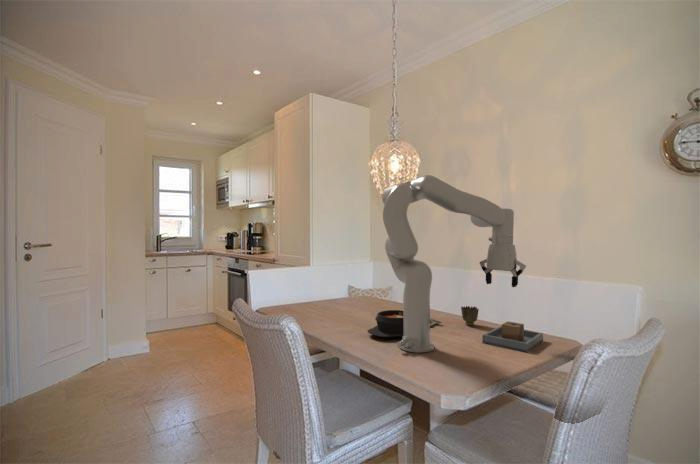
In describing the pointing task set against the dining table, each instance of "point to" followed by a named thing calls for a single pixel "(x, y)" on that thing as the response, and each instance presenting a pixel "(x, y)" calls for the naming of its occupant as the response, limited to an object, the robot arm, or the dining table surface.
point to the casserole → (388, 324)
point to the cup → (469, 315)
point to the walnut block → (513, 331)
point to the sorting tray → (526, 345)
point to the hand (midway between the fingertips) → (501, 285)
